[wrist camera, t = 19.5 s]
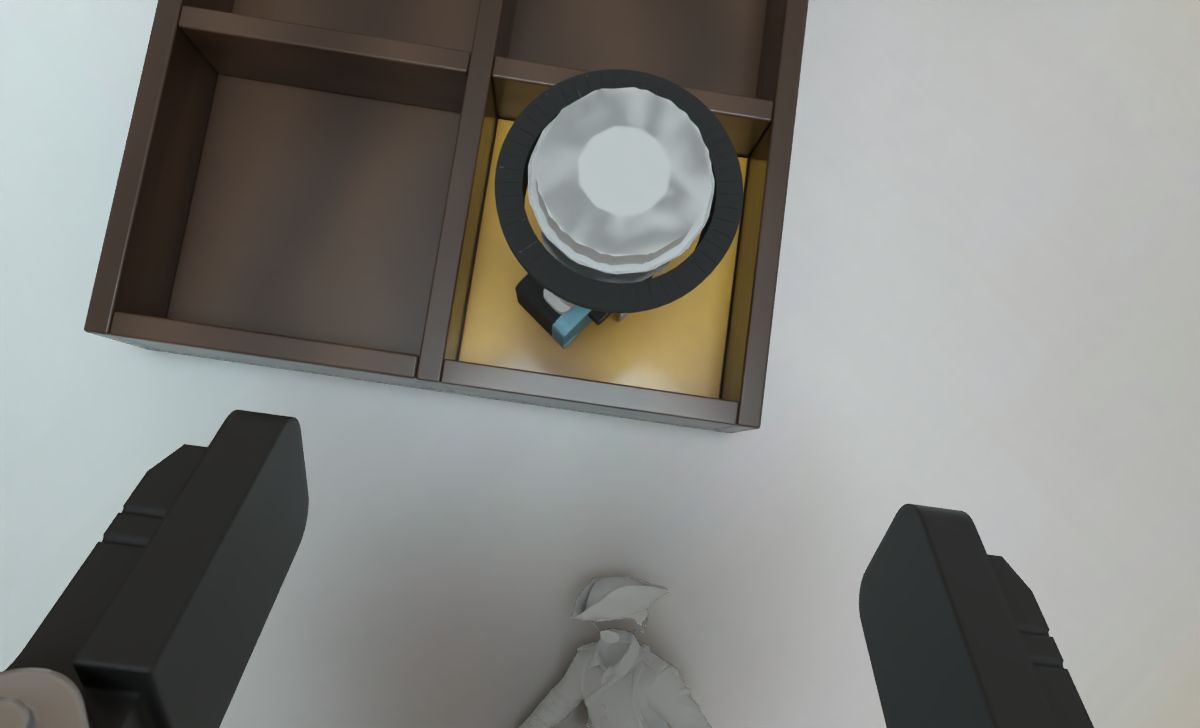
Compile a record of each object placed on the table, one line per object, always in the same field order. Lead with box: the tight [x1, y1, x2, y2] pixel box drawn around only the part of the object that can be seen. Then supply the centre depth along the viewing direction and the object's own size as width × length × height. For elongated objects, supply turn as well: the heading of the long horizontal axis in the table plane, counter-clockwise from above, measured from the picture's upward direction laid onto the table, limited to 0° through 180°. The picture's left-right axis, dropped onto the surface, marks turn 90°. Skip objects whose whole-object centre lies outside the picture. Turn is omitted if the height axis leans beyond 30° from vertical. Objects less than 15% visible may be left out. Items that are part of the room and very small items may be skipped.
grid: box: [84, 0, 809, 433], centre depth 26 cm, size 19×19×4 cm
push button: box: [494, 69, 743, 348], centre depth 21 cm, size 7×5×10 cm
